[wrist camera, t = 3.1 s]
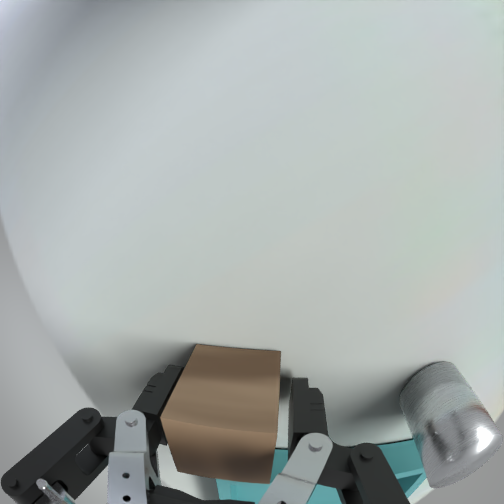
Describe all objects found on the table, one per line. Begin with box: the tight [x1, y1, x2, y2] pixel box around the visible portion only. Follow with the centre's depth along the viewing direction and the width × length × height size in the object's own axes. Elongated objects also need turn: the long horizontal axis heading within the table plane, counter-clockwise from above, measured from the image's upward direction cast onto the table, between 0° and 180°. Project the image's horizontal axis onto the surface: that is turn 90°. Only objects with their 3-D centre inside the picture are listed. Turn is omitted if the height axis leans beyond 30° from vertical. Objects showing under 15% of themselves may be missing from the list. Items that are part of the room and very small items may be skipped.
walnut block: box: [160, 344, 281, 484], centre depth 11 cm, size 4×4×5 cm
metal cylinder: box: [399, 362, 503, 488], centre depth 10 cm, size 4×4×6 cm
